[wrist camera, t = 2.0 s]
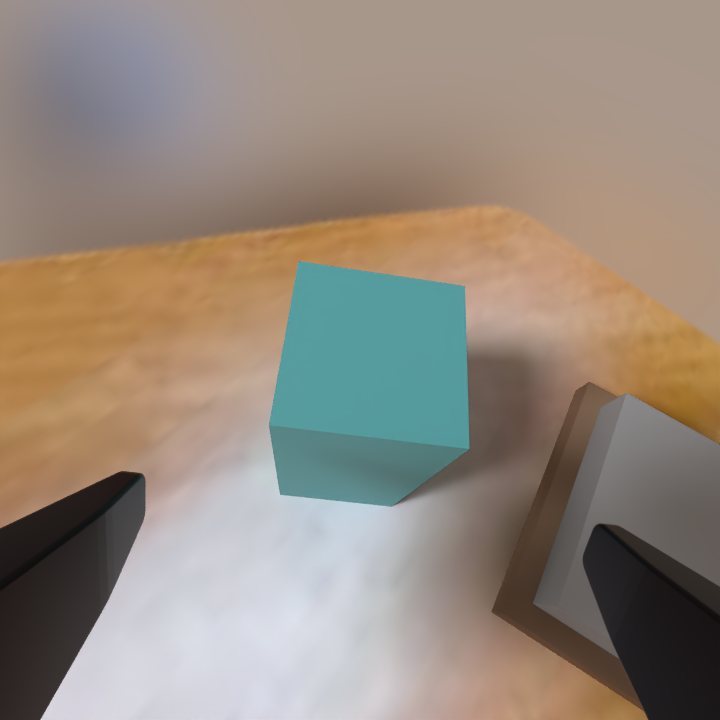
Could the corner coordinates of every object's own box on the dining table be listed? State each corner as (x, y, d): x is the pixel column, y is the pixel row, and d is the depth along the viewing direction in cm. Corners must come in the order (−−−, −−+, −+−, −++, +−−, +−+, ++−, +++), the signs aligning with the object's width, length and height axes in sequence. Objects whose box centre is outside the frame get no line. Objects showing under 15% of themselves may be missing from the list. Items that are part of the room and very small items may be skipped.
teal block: (391, 506, 20) (469, 449, 11) (280, 494, 20) (269, 425, 11) (396, 402, 22) (464, 286, 13) (296, 389, 22) (298, 261, 13)
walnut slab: (747, 782, 18) (797, 804, 16) (484, 610, 19) (503, 613, 18) (777, 515, 23) (817, 510, 21) (568, 396, 25) (589, 381, 23)
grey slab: (772, 757, 17) (829, 778, 15) (532, 603, 18) (558, 606, 16) (795, 517, 21) (841, 512, 19) (600, 407, 22) (626, 392, 21)
